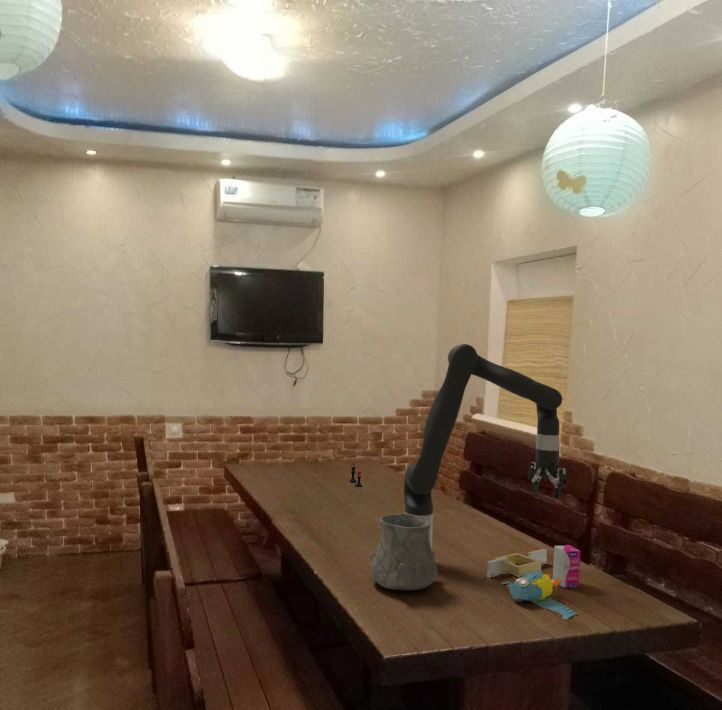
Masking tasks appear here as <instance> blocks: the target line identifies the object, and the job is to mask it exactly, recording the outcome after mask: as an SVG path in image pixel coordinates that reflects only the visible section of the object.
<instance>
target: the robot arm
mask: <svg viewBox="0 0 722 710" xmlns="http://www.w3.org/2000/svg"><path fill="white" fill-rule="evenodd" d="M447 362H448V366H447V370H446V373H445V374H446V375H445V378H444V381H443V383H442V385H441V386H440V388H439V390H438V392H437V394H436V396H435V397H434V400H433V402H432V404H431V406H430V409H429V412H428V415H427V418H426V420H425V423H424V424H425V425H424V431H423V439H422V446H421V450H420V453H419V455H418V458H417V461H416V462H414V463H411V464H410V465H409V466H408V467H407V468H406V470H405V472H404V473H405V474H404V478H403V479H404V484H403V485H404V486H403V488H404V492H403V496H404V497H403V500H404V508H405V509H404V514H412V515H416V516H421V517H424V518H426V519H427V520H429V521H430V528H429V541H430V546H431V550H432V551H433V549H432V547H433V526H434V525H433V520H434V504H433V500H432V498H433V497H432V490H433V489H434V487H435V486H436V484H437V479H438V475H439V471H440V467H441V462H442V459H443V456H444V453H445V451H446V449H447V446H448V444H449V440H450V438H451V436H452V432H453V431H454V428H455V424H456V422H457V418H458V416H459V413H460V410H461V405H462V402H463V398H464V393H465V391H466V387H467V386H468V383H469V380H470V379H471V376H476V377H479V378H480V379H483V380H486V381H487V382H490V383H492V384H494V386H495V385H496V386H498V387H499V388H502V389H504V390H506V391H508V392H510V393H512V394H514V395H516V396H518V397H521V398H523V399H526V400H529V401H531V402H532V403H535V406H536V416H537V424H536V425H537V426H536V427H537V428H536V430H537V431H536V439H535V461H529V462H528V466H527V480H528V481H529V480H530V481H531V483H532V486H531V490H532V493H533V494H534V495H538V494H539V493H540V481H541V479H545V480H546V479H548V480H549V481H550V482H551V483H552V485H553V486H554V488H553V489H554V490H553V500H557V501H558V500H560V498H562V488H564V487H565V488H566V487H567V486H568V473H567V472H568V471H567V470H568V469H567V468H566V467H565V468H564V467H563V468H561V467H559V463H560V447H561V445H560V444H561V442H560V440H561V439H560V420H559V418H558V413H557V412H558V410H557V409H558V408H559V407H561V405H562V402H563V396H562V393H561V392H560V391H559V390H557V389H556V388H554V387H552V386H549V385H547V384H543V383H541V382H539V381H536V380H535V379H533V378H531V377H529V376H527V375H525V374H523V373H521V372H518V371H516V370H513V369H510V368H508V367H504V366H502V365H499V364H497V363H495V362H491V361H490V360H488V359H486V358H483V356H480V355H479V354H478V353H477V350H476V348H474V346H472V345H470V344H467V343H462V344H461V343H460V344H458V345H455V346H454V347H452V348H451V349H450V350H449V352H448V355H447Z"/></svg>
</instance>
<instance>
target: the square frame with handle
mask: <svg viewBox="0 0 722 710" xmlns="http://www.w3.org/2000/svg"><path fill="white" fill-rule="evenodd" d="M547 555H548V550H547V549H546V548H541V549H537V550H532V551H528V552H527V556H526V555H523V554H521V553H519V552H515V553H511V554H507V555H502V556H498V557H497V556H496V557H494V559H491V560H489V561H487V564H486V569H487V570H486V578H488V577H489V578H488V579H491V578H490V577H493V578H495V577H494V576H497V577H499V576H498V575H501V574H505V573H510V574H512V575H514V576H517V577H522V576H524V575H525V574H526V573H530V574H531V573H532V572H533V571H542V566H544V565H543V564H546V565H547V560H548V559H547ZM516 564H519V565H520V566H519V565H516ZM541 565H542V566H541ZM505 575H506V574H505ZM501 576H502V575H501ZM514 576H513V577H514Z"/></svg>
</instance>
